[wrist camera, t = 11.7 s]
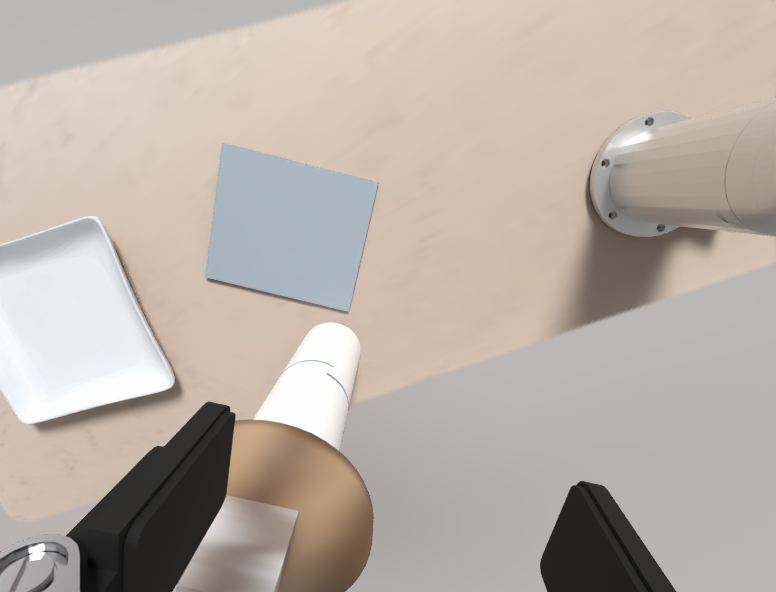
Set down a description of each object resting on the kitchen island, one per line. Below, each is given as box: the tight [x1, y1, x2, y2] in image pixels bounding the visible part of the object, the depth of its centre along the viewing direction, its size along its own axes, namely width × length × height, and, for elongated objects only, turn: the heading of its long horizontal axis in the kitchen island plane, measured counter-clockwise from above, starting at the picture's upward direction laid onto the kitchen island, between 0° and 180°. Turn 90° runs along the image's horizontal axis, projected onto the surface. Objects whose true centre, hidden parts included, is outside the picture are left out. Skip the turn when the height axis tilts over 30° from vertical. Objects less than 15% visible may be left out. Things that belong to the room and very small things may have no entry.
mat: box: [205, 143, 378, 312], centre depth 43 cm, size 17×15×1 cm
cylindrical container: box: [253, 323, 361, 451], centre depth 35 cm, size 7×7×25 cm
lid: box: [176, 420, 373, 592], centre depth 20 cm, size 13×13×6 cm
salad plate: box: [0, 216, 175, 424], centre depth 45 cm, size 21×21×3 cm
